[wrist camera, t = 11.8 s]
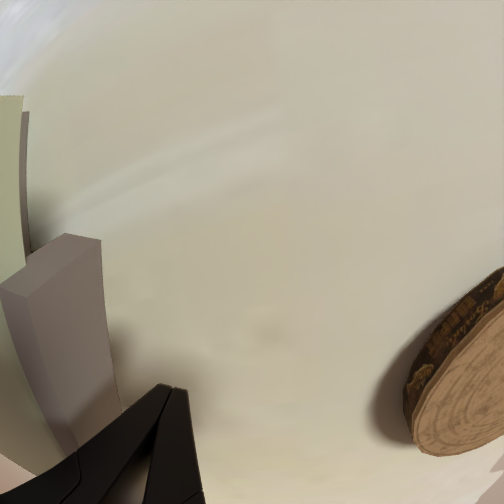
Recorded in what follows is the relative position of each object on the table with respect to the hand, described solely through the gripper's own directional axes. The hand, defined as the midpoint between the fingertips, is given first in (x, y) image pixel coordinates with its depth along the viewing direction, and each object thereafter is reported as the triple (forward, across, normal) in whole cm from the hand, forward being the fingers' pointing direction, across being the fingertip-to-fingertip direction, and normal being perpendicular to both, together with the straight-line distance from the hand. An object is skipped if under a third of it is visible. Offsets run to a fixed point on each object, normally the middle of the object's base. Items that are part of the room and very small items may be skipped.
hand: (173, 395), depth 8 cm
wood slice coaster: (+8, -20, +3) cm, 21 cm away
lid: (+1, +9, 0) cm, 9 cm away
